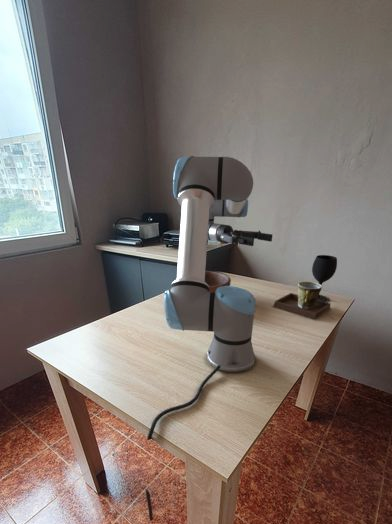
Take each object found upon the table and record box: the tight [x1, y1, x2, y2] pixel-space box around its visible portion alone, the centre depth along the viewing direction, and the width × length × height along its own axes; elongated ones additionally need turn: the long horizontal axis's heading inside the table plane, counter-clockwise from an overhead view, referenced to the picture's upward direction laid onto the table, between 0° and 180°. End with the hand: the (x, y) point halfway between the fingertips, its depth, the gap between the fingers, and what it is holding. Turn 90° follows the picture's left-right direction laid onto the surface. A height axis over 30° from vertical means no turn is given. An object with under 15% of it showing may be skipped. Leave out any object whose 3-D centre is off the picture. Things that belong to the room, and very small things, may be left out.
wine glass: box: [311, 254, 338, 303], centre depth 137 cm, size 10×10×20 cm
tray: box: [273, 292, 331, 321], centre depth 131 cm, size 16×20×3 cm
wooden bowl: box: [205, 270, 232, 293], centre depth 137 cm, size 25×25×10 cm
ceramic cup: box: [297, 281, 323, 309], centre depth 128 cm, size 13×10×10 cm
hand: (262, 240), depth 116 cm, fingers open, 13 cm apart
